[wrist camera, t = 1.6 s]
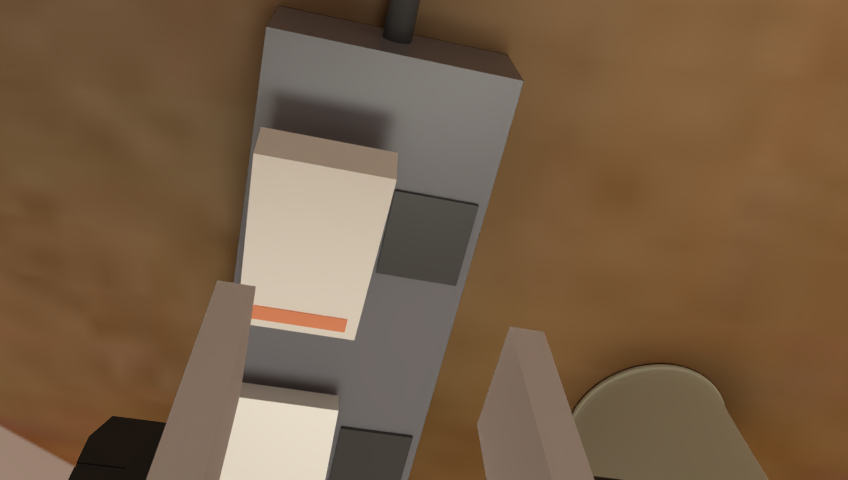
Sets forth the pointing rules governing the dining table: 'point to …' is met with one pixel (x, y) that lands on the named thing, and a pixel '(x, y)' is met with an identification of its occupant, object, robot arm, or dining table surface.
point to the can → (662, 428)
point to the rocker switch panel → (407, 217)
